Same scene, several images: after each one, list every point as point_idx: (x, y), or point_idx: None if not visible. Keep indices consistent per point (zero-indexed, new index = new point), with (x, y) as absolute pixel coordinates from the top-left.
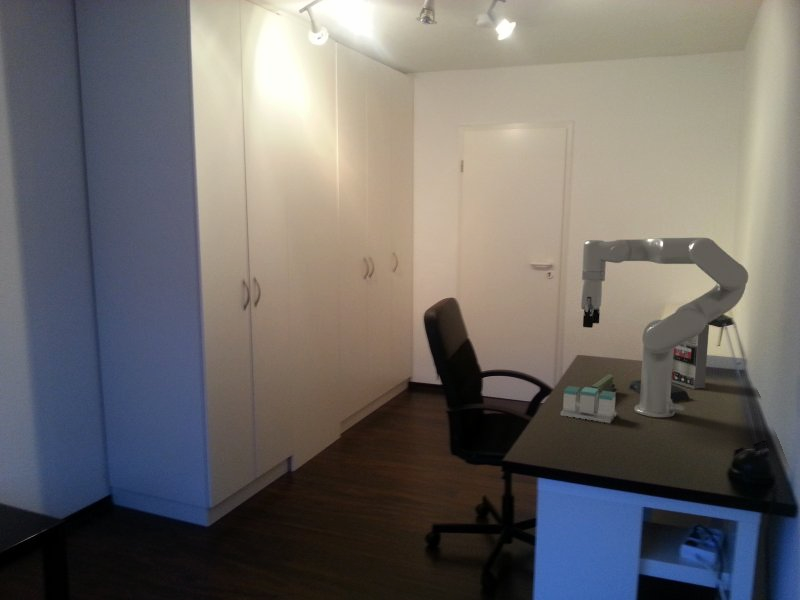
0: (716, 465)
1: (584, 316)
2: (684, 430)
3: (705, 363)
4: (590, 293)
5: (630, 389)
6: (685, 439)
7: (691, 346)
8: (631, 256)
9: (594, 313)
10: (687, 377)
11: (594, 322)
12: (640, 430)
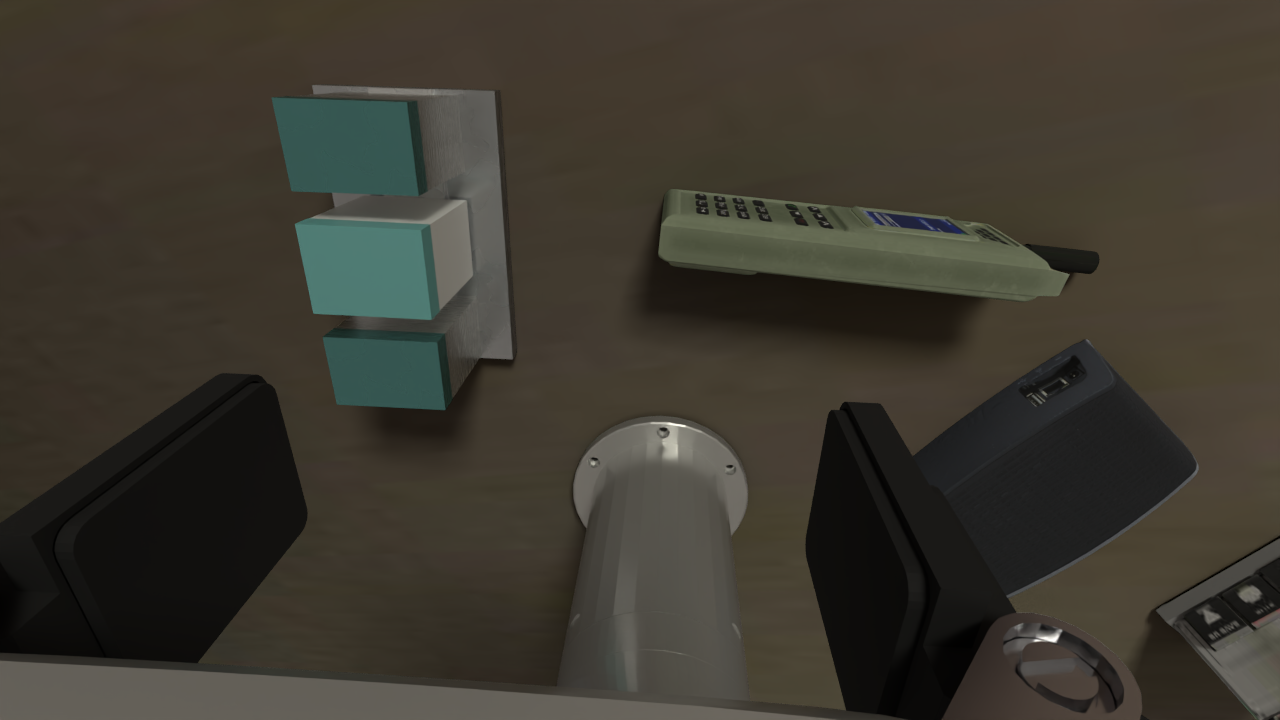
0: None
1: (23, 540)
2: (476, 585)
3: None
4: None
5: (1060, 356)
6: (374, 589)
7: None
8: None
9: (879, 656)
10: (1233, 626)
11: (816, 494)
12: (367, 461)
